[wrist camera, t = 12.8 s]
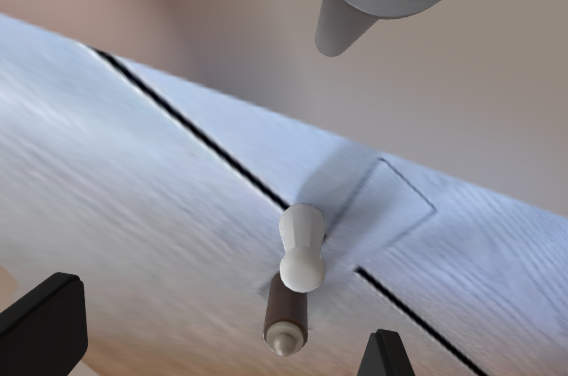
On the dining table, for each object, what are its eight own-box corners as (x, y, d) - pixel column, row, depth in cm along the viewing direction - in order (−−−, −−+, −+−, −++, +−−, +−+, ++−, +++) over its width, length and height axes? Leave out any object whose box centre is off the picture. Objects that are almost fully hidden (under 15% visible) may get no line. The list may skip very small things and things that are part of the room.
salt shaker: (286, 241, 40) (279, 308, 28) (275, 203, 38) (262, 257, 26) (328, 232, 39) (340, 297, 27) (319, 193, 38) (327, 244, 25)
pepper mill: (273, 267, 41) (263, 330, 31) (309, 274, 41) (312, 339, 31) (268, 297, 43) (256, 366, 32) (303, 303, 43) (303, 375, 32)
